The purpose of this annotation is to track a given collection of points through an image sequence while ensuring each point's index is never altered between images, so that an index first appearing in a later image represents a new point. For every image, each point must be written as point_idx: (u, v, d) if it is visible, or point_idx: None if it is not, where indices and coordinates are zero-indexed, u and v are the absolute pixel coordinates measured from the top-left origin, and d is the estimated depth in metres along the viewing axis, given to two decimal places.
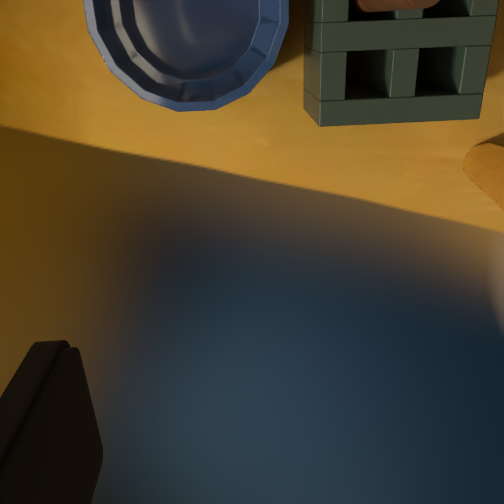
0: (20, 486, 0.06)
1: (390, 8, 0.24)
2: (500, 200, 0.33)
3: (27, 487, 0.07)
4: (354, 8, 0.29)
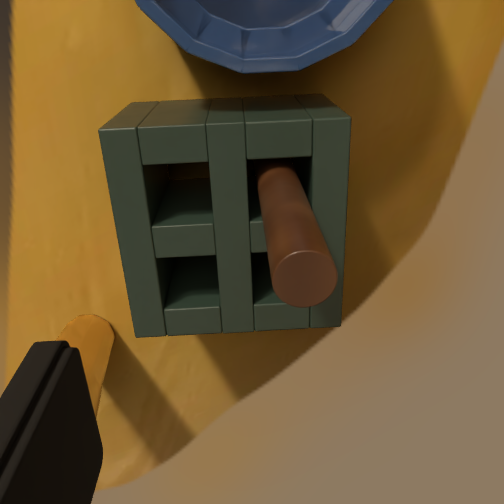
0: (20, 486, 0.06)
1: (266, 222, 0.17)
2: None
3: (27, 487, 0.07)
4: (261, 165, 0.22)
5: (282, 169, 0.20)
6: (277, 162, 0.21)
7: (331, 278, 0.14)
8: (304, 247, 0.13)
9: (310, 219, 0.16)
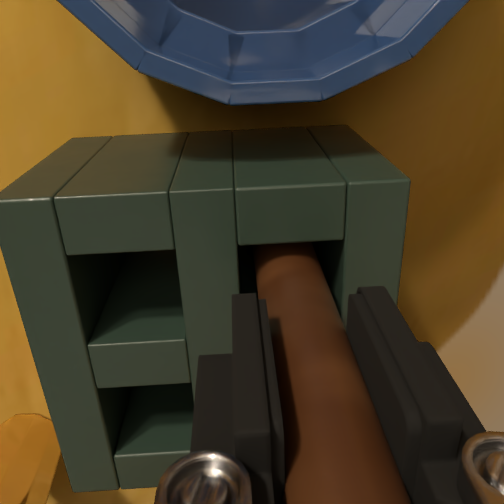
0: None
1: None
2: None
3: None
4: None
5: (297, 261, 0.12)
6: (287, 243, 0.14)
7: None
8: None
9: (365, 414, 0.08)
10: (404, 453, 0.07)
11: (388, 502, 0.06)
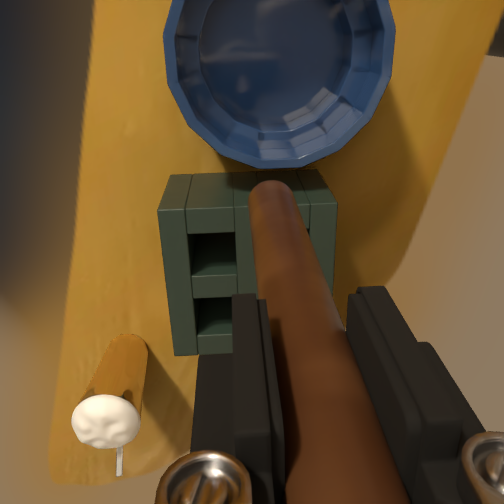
0: None
1: None
2: (94, 390, 0.32)
3: None
4: (261, 240, 0.15)
5: (296, 259, 0.13)
6: (286, 241, 0.14)
7: None
8: None
9: (363, 409, 0.08)
10: (404, 453, 0.07)
11: (385, 494, 0.06)
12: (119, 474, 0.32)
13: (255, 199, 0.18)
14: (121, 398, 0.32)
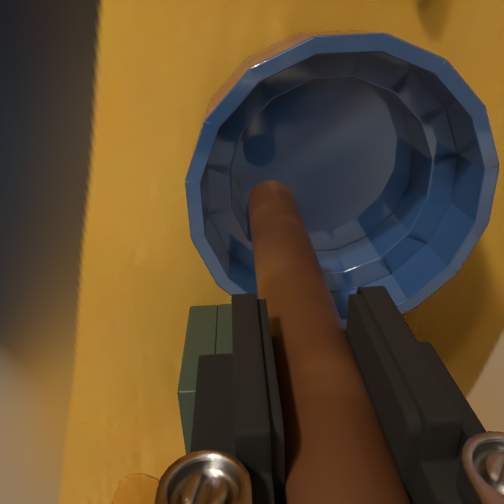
0: None
1: None
2: None
3: None
4: (261, 240, 0.15)
5: (296, 259, 0.13)
6: (286, 241, 0.14)
7: None
8: None
9: (363, 409, 0.08)
10: (404, 453, 0.07)
11: (385, 494, 0.06)
12: None
13: (255, 199, 0.18)
14: None
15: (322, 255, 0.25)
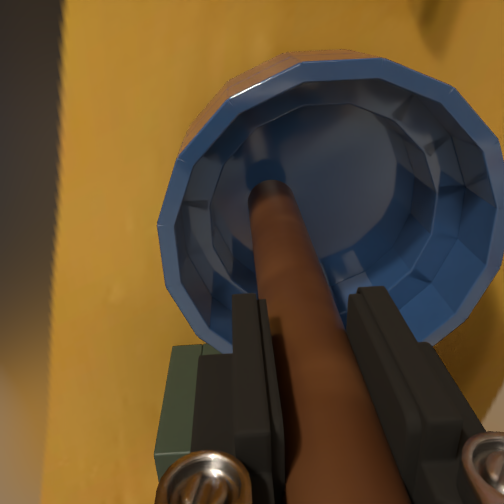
0: None
1: None
2: None
3: None
4: (261, 240, 0.15)
5: (296, 259, 0.13)
6: (287, 241, 0.14)
7: None
8: None
9: (363, 408, 0.08)
10: (404, 453, 0.07)
11: (385, 493, 0.06)
12: None
13: (255, 199, 0.18)
14: None
15: None
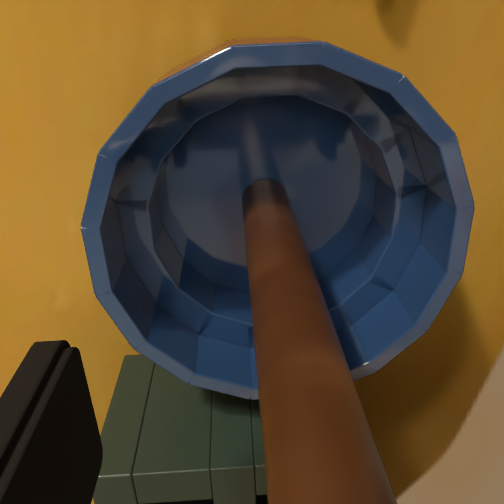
0: (20, 486, 0.06)
1: (263, 388, 0.09)
2: None
3: (27, 487, 0.07)
4: (253, 238, 0.15)
5: (287, 256, 0.13)
6: (278, 239, 0.14)
7: None
8: None
9: (347, 400, 0.08)
10: None
11: (366, 481, 0.07)
12: None
13: (249, 197, 0.18)
14: None
15: None
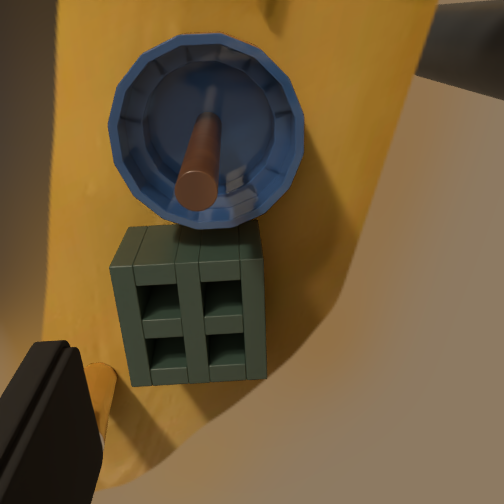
0: (20, 486, 0.06)
1: (182, 163, 0.24)
2: None
3: (27, 487, 0.07)
4: (193, 131, 0.30)
5: (204, 132, 0.28)
6: (203, 128, 0.29)
7: (213, 190, 0.21)
8: (194, 169, 0.21)
9: (208, 158, 0.23)
10: None
11: (204, 166, 0.22)
12: None
13: (197, 120, 0.33)
14: None
15: None
